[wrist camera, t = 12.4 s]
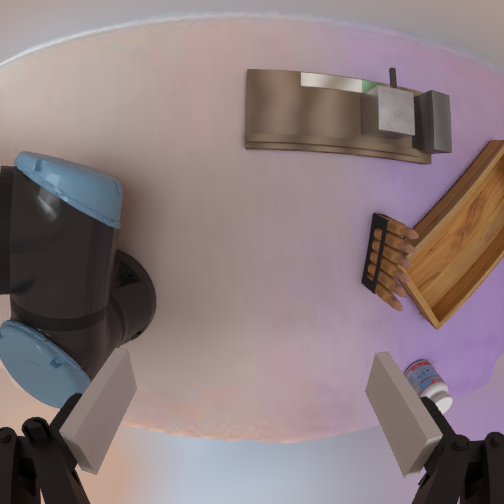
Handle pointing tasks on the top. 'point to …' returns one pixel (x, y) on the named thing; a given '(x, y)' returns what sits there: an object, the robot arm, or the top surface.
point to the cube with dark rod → (388, 111)
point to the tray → (459, 239)
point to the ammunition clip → (387, 258)
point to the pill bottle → (429, 384)
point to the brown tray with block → (336, 117)
